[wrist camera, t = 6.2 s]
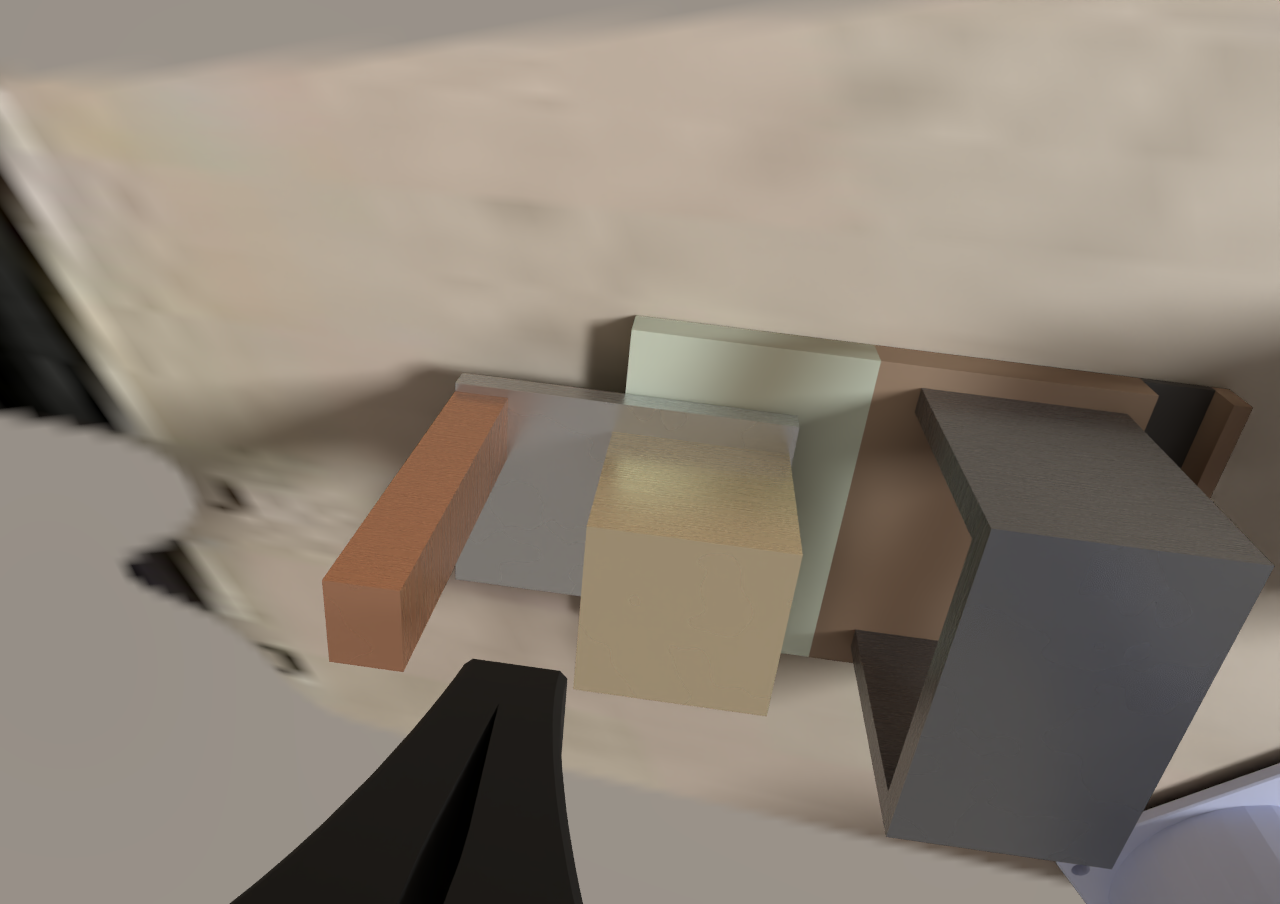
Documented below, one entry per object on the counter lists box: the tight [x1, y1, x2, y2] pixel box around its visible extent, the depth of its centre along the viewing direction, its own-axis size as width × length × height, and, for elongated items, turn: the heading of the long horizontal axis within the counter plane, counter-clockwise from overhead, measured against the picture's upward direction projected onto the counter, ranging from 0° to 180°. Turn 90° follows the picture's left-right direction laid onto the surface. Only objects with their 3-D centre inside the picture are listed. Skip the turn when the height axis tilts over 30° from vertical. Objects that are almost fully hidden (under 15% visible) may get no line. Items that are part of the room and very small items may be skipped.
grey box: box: [850, 388, 1274, 869], centre depth 18 cm, size 4×7×6 cm, turn 174°
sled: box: [322, 373, 803, 716], centre depth 18 cm, size 8×5×8 cm
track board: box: [625, 315, 1253, 663], centre depth 21 cm, size 14×8×1 cm, turn 84°
